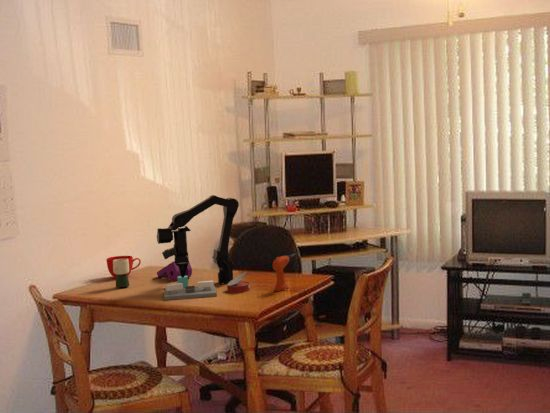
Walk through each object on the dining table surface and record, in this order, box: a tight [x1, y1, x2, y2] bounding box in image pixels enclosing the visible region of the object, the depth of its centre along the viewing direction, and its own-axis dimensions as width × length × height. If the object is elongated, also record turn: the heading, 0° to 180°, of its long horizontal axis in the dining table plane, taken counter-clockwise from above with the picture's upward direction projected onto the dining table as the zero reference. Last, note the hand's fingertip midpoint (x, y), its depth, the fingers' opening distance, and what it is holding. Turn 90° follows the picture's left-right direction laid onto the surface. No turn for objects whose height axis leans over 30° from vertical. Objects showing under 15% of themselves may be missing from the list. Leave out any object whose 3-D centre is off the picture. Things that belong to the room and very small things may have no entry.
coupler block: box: [176, 276, 190, 288], centre depth 328 cm, size 5×4×5 cm
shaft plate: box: [163, 280, 218, 301], centre depth 312 cm, size 22×16×5 cm
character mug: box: [113, 259, 130, 289], centre depth 335 cm, size 11×7×13 cm, turn 153°
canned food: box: [226, 271, 251, 294], centre depth 315 cm, size 11×10×10 cm
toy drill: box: [272, 252, 296, 292], centre depth 316 cm, size 5×19×15 cm, turn 149°
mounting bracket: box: [156, 260, 193, 282], centre depth 353 cm, size 9×8×18 cm
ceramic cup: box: [106, 255, 142, 279], centre depth 363 cm, size 13×17×10 cm
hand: (182, 275), depth 328 cm, fingers open, 9 cm apart
